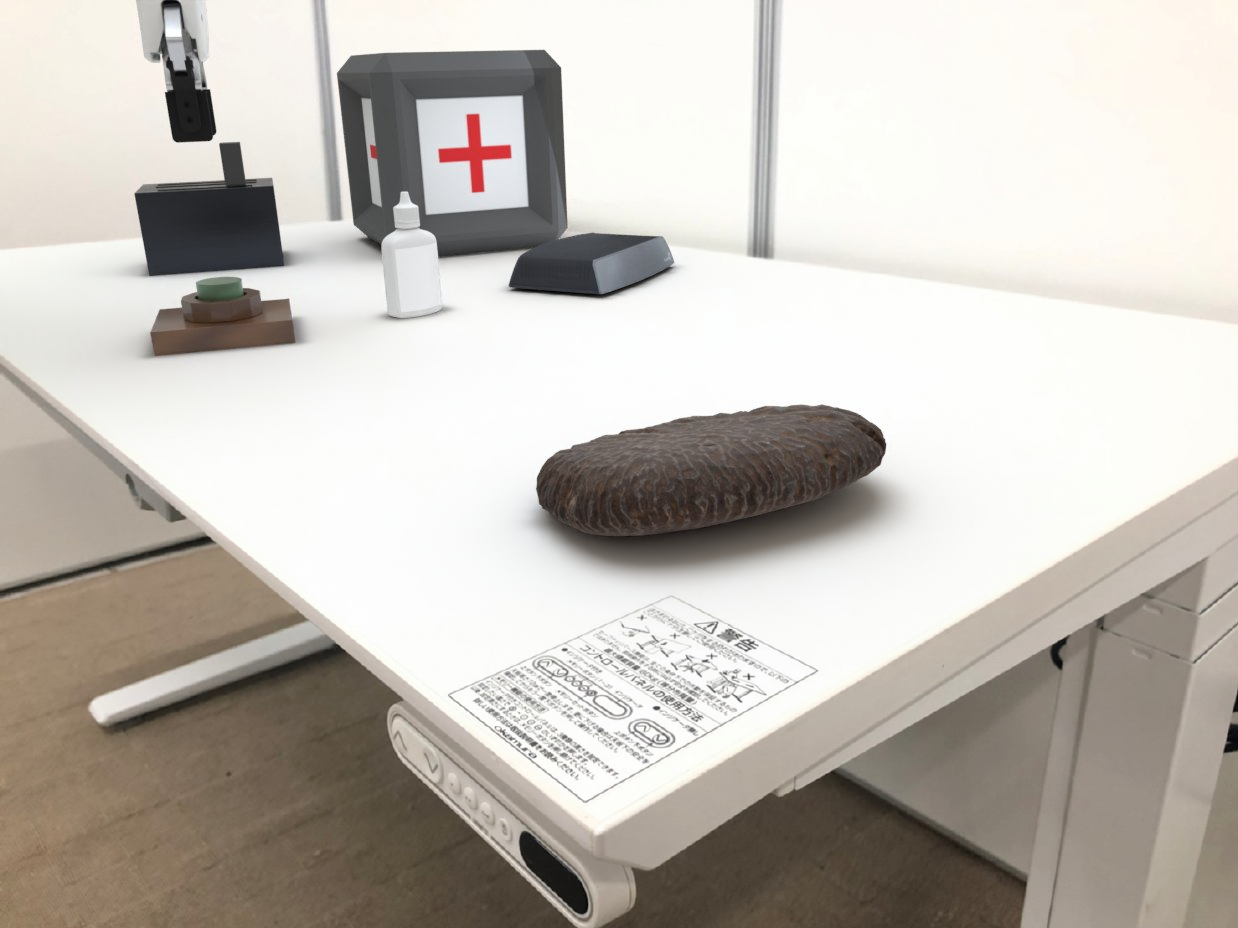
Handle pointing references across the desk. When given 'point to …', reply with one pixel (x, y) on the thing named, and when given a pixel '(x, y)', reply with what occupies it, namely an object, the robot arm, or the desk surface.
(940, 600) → the desk surface
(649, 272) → the hard drive
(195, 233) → the toaster
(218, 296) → the button
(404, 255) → the eye dropper bottle
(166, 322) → the brown button base
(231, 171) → the toaster slider
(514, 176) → the first aid kit
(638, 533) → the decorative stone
